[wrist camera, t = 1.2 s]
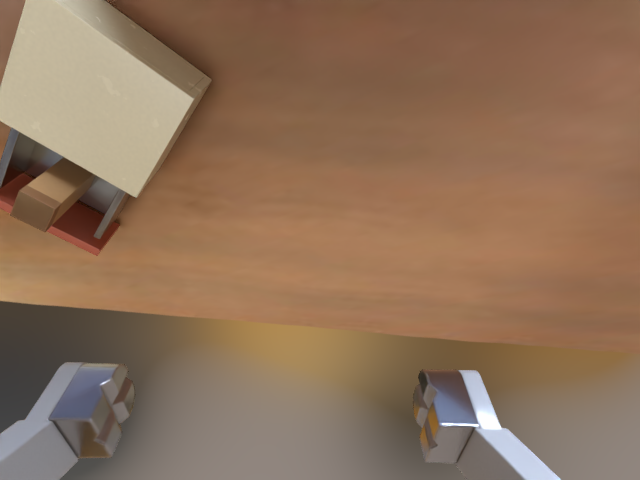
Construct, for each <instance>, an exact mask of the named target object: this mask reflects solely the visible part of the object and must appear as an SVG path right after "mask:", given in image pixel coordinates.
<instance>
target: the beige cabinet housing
mask: <svg viewBox="0 0 640 480" xmlns="http://www.w3.org/2000/svg"><path fill="white" fill-rule="evenodd" d="M211 81H212V79H210V78H209V77H208V76H206V75H205V74H204V73H202V72H201V71H200V70H198V69H197V68H196V67H194V66H193V65H191V64H190V63H189V62H187V61H186V60H185V59H183V58H182V57H181V56H179V55H178V54H177V53H175V52H174V51H173V50H171V49H170V48H168V47H167V46H166V45H164V44H163V43H162V42H160V41H159V40H158V39H156V38H155V37H154V36H152V35H151V34H150V33H148V32H147V31H145V30H144V29H143V28H141V27H140V26H139V25H137V24H136V23H135V22H133V21H132V20H131V19H129V18H128V17H127V16H125V15H124V14H122V13H121V12H120V11H118V10H117V9H116V8H114V7H113V6H112V5H110V4H109V3H108V2H106V1H105V0H26V2H25V5H24V8H23V12H22V15H21V19H20V22H19V25H18V29H17V32H16V36H15V39H14V42H13V46H12V49H11V53H10V56H9V60H8V63H7V66H6V70H5V73H4V77H3V80H2V83H1V87H0V121H1V122H3V123H5V124H7V125H8V126H10V127H12V128H14V129H15V130H17V131H19V132H21V133H22V134H24V135H26V136H28V137H29V138H31V139H33V140H35V141H36V142H38V143H40V144H42V145H44V146H45V147H47V148H49V149H51V150H52V151H54V152H56V153H58V154H59V155H61V156H63V157H65V158H66V159H68V160H70V161H72V162H74V163H75V164H77V165H79V166H81V167H82V168H84V169H86V170H88V171H89V172H91V173H93V174H95V175H96V176H98V177H100V178H102V179H104V180H105V181H107V182H109V183H111V184H112V185H114V186H116V187H118V188H119V189H121V190H123V191H125V192H126V193H128V194H130V195H132V196H134V197H135V198H137V197H138V195H139V194H140V193H141V192H142V190H143V189H144V188H145V187H146V185H147V184H148V183H149V181H150V180H151V179H152V178H153V176H154V175H155V174H156V173H157V171H158V170H159V169H160V167H161V165H162V164H163V162H164V160H165V159H166V157H167V155H168V154H169V152H170V150H171V149H172V147H173V145H174V143H175V142H176V140H177V138H178V137H179V135H180V133H181V132H182V130H183V128H184V127H185V125H186V123H187V122H188V120H189V118H190V117H191V115H192V113H193V111H194V110H195V108H196V106H197V105H198V103H199V101H200V100H201V98H202V96H203V95H204V93H205V91H206V90H207V88H208V86H209V85H210V83H211Z"/></svg>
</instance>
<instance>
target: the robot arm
mask: <svg viewBox="0 0 640 480" xmlns="http://www.w3.org/2000/svg"><path fill="white" fill-rule="evenodd" d="M127 374H128V369H127V367H126V365H125V364H103V363H76V362H66V363H64V364H63V365H62V366H61V367H60V368H59V369H58V370H57V372H56V373H55V375H54V376H53V378H52V379H51V381H50V382H49V384H48V385H47V387H46V388H45V390H44V392H43V393H42V395H41V396H40V398H39V399H38V401H37V402H36V404H35V405H34V407H33V409H32V410H31V412H30V413H29V414H28V416H27V418H26V419H25V420H19V421H17V422H16V423H15V424H13V425H12V426H10V427H9V428H8V429H6V430H5V431H3V432H2V433H1V434H0V480H59V479H60V478H61V477H62V476H63V475H64V474H65V473H66V472H67V471H68V470H69V469H70V468H71V467H72V466H73V465H74V464H75V463H76V462H77V461H78V460H79V459H78V458H111V457H112V455H113V453H114V450H115V448H116V446H117V444H118V441H119V439H120V437H121V434H122V430H121V427H120V424H121V423H122V422H123V421H124V420H125V419H126V418H128V417H129V415H130V413H131V410H132V408H133V405H134V399H135V386H134V384H133V382H132V381H131V380H130V379H128V378H127V377H126V376H127ZM418 378H419V382H420V384H419V385H417V386H416V387H415V390H414V394H413V406H414V414H415V419H416V422H417V423H418V424H419V425H420V426H421V427H422V431H421V434H420V442H421V446H422V450H423V455H424V459H425V462H435V463H457V464H456V466H457V467H458V468H459V469H460V471H461V472H462V474H463V475H464V476H465V477H466V479H467V480H561V479H560V478H559V477H558V476H557V475H556V474H554V473H553V472H552V471H551V470H550V469H549V468H548V467H547V466H546V465H545V464H544V463H543V462H542V461H541V460H540V459H539V458H537V457H536V455H534V454H533V453H532V452H531V451H530V450H529V449H528V448H527V447H526V446H525V445H524V444H523V443H522V442H521V441H519V439H518V438H517V437H515V436H514V435H513V434H512V433H511V432H510V431H509V430H508V429H505V428H501V426H500V423H499V421H498V418H497V416H496V414H495V411H494V408H493V406H492V403H491V401H490V399H489V396H488V394H487V391H486V389H485V386H484V384H483V382H482V379H481V376H480V374H479V373H478V372H477V371H475V370H421V371H420V373H419V377H418Z"/></svg>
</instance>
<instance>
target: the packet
mask: <svg viewBox="0 0 640 480" xmlns="http://www.w3.org/2000/svg"><path fill="white" fill-rule="evenodd" d="M95 176H96V175H95V174H93V173H91V172H89V171H88V170H86V169H84V168H82V167H81V166H79V165H77V164H75V163H74V162H72V161H70V160H68V159H66V158H65V157H64V158H62V159H61V160H60V161H58V162H57V163H56V164H54V165H53V166H52V167H50V168H49V169H48V170H46V171H45V172H44V173H42V174H41V175H40V176H38V177H37V178H36V179H34V180H33V181H32V182H30V183H29V184H28V185H26V186H24V187H23V188H22V189H20V190H19V192H18V195H17V197H16V200H15V203H14V205H13V208H12V211H11V213H10V216H12V217H15V218H17V219H19V220H21V221H23V222H25V223H27V224H29V225H31V226H33V227H35V228H37V229H39V230H41V231H43V232H46V231H47V230H48V229H49V228H50V227H51V225H53V224H54V223H55V222H56V221H57V220H58V219H59V218H60V217H61V216H62V215H63V214H64V213H65V212H66V211H67V210H68V209H69V208H70V207H71V206H72V205H73V204H74V203H75V202H76V201H77V200H78V199H79V198H80V197H81V196H82V195H83V194H84V193H86V192H87V191H88V190H89V188H90V186H91V184H92V182H93V180H94V178H95Z"/></svg>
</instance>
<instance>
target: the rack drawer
mask: <svg viewBox="0 0 640 480" xmlns="http://www.w3.org/2000/svg"><path fill="white" fill-rule="evenodd" d="M62 158H64V157H63V156H61V155H59V154H58V153H56V152H54V151H52V150H51V149H49V148H47V147H45V146H44V145H42V144H40V143H38V142H36V141H35V140H33V139H31V138H29V137H28V136H26V135H24V134H22V133H21V132H19V131H17V130H15V129H14V128H12V127H11V130H10V134H9V137H8V140H7V143H6V146H5V149H4V152H3V155H2V158H1V161H0V209H2V210H4V211H6V212H8V213H11V211H12V208H13V205H14V203H15V200H16V197H17V195H18V192H19V190H20V189H22V188H23V187H24V186H26V185H28V184H29V183H30V182H32V181H33V180H34V179H33V178H31V177H29V176H27V175H25V174H23V173H24V172H27V173H29V174H31V175H33V176H34V177H36V178H37V177H38V176H40V175H41V174H42V173H44V172H45V171H46V170H48V169H49V168H50V167H52V166H53V165H54V164H56V163H57V162H58V161H60V160H61V159H62ZM129 196H130V194H128V193H126V192H125V191H123V190H121V189H119V188H118V187H116V186H114V185H112V184H111V183H109V182H107V181H105V180H104V179H102V178H100V177H98V176H95V178H94V180H93V182H92V184H91V186H90V188H89V190H88V191H87V192H86V193H84V194H83V195H82V196H81V197H80V198H79V199H78V200H79V201H81V202H83V203H85V204H87V205H89V206H91V207H92V208H94V209H96V210H98V211H100V212H102V213H104V214H105V215H104V216H102V215H101V214H99V213H97V212H95V211H93V210H91V209H89V208H87V207H86V206H84V205H82V204H80V203H78V202H75V203H74V204H73V205H72V206H71V207H70V208H69V209H68V210H67V211H66V212H65V213H64V214H63V215H62V216H61V217H60V218H59V219H58V220H57V221H56V222H55V223H54V224H53V225H51V227H50V228H49V229H48V230H47V232H49V233H51V234H53V235H55V236H57V237H59V238H61V239H63V240H65V241H68V242H70V243H72V244H74V245H76V246H78V247H80V248H82V249H84V250H86V251H88V252H90V253H92V254H94V255H96V256H98V254H99V253H100V252H101V250H102V249H103V248H104V246H105V245H106V244H107V243H108V241H109V240H110V239H111V237H112V236H113V235H114V233H115V232H116V231H117V229H118V227H119V226H120V225H119V224H117V223H116V222H114V221H115V219H116V218H117V217H118V216H119V214H120V212H121V210H122V209H123V207H124V205H125V203H126V202H127V200H128V198H129Z"/></svg>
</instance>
